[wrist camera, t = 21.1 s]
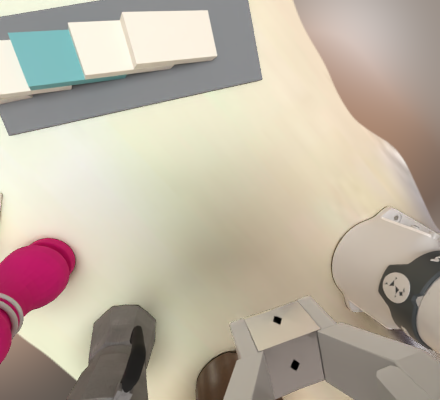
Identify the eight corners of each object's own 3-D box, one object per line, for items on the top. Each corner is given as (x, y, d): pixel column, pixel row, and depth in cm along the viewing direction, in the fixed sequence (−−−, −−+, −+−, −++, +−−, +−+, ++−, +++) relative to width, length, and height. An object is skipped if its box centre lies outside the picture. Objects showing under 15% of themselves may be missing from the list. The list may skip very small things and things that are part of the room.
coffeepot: (137, 375, 42) (116, 540, 24) (76, 360, 39) (3, 531, 22) (179, 290, 40) (189, 401, 23) (118, 268, 38) (76, 375, 20)
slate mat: (242, -22, 33) (243, -24, 33) (261, 79, 36) (262, 79, 36) (-36, 24, 29) (-39, 23, 29) (10, 135, 32) (9, 135, 31)
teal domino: (112, 27, 30) (7, 32, 26) (126, 74, 31) (28, 86, 27) (111, 33, 31) (11, 39, 27) (124, 78, 33) (31, 90, 29)
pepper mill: (10, 242, 34) (-191, 368, 15) (68, 227, 35) (-50, 328, 16) (32, 291, 36) (-124, 460, 17) (87, 276, 37) (-1, 418, 18)
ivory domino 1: (54, 37, 29) (-65, 43, 25) (71, 85, 30) (-40, 99, 26) (55, 43, 30) (-58, 50, 26) (71, 89, 32) (-35, 102, 27)
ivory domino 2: (162, 18, 31) (67, 22, 27) (174, 64, 32) (85, 75, 28) (158, 24, 32) (68, 29, 28) (170, 69, 33) (85, 79, 29)
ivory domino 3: (207, 10, 31) (122, 11, 27) (217, 55, 33) (136, 64, 28) (202, 16, 33) (119, 19, 29) (211, 60, 34) (134, 68, 30)
